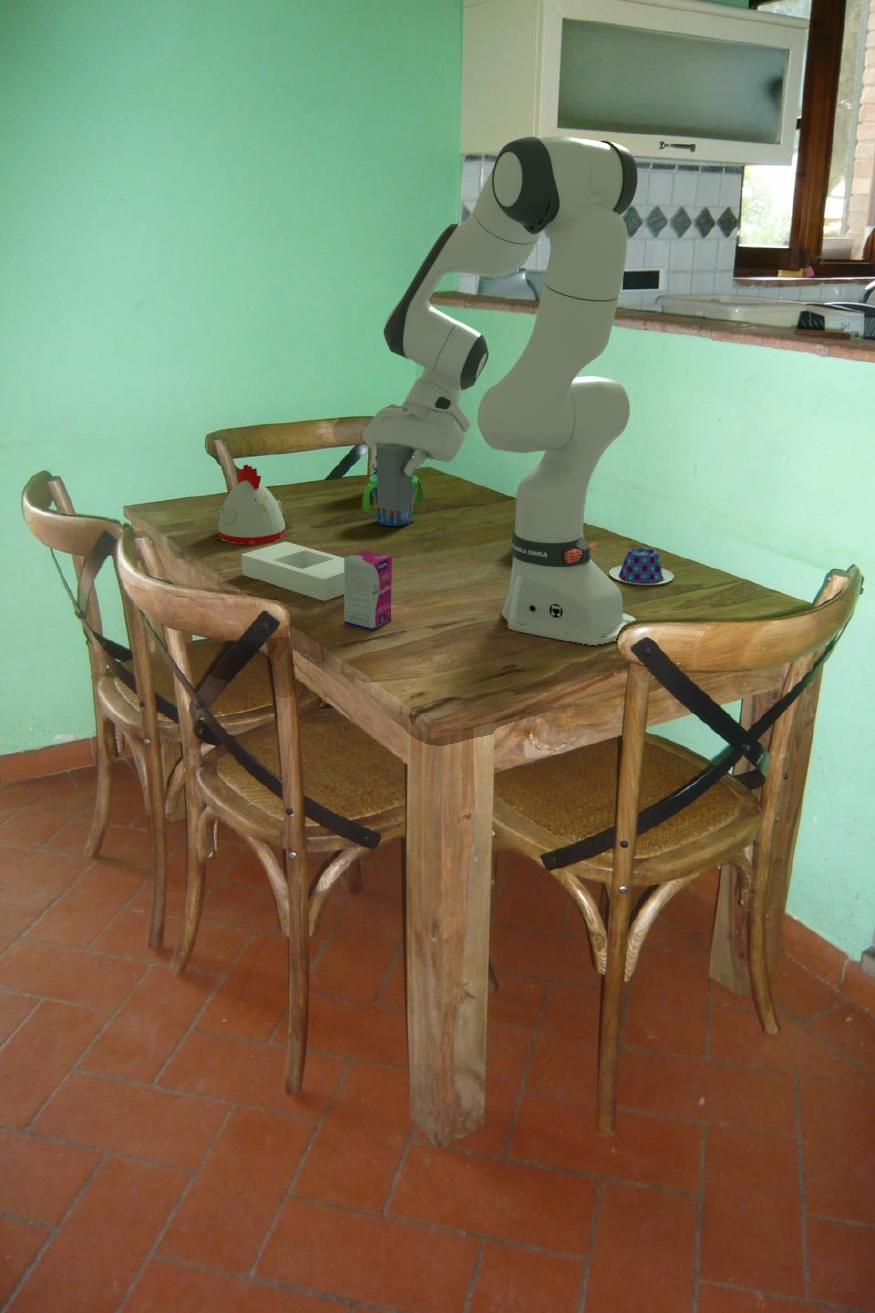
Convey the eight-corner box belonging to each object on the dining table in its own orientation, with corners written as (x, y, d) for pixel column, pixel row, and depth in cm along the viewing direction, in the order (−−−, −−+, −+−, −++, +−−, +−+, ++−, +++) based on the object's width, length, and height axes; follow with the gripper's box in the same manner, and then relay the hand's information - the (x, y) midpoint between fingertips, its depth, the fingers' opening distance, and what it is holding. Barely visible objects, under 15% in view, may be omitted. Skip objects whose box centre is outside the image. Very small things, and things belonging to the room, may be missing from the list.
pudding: (660, 592, 179) (663, 565, 177) (598, 581, 185) (600, 554, 183) (682, 574, 189) (685, 548, 187) (623, 564, 195) (625, 538, 192)
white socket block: (368, 585, 181) (367, 564, 179) (324, 601, 173) (323, 579, 172) (286, 561, 194) (285, 541, 192) (242, 574, 186) (241, 554, 185)
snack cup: (411, 512, 228) (410, 468, 224) (436, 523, 220) (436, 477, 216) (351, 522, 220) (350, 477, 216) (375, 533, 212) (374, 486, 208)
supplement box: (373, 632, 160) (371, 564, 156) (343, 624, 163) (341, 558, 158) (393, 621, 165) (392, 555, 160) (364, 614, 168) (362, 549, 163)
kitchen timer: (240, 549, 201) (235, 476, 196) (207, 534, 211) (200, 464, 205) (298, 536, 210) (294, 466, 204) (263, 523, 219) (258, 455, 213)
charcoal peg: (412, 506, 181) (412, 446, 177) (395, 511, 178) (395, 449, 174) (394, 502, 184) (393, 443, 180) (377, 507, 181) (376, 446, 176)
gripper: (377, 392, 185) (341, 453, 182) (463, 403, 173) (426, 468, 170) (393, 414, 190) (359, 473, 186) (478, 426, 177) (443, 490, 174)
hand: (392, 471), depth 178 cm, fingers closed on charcoal peg, 4 cm apart
